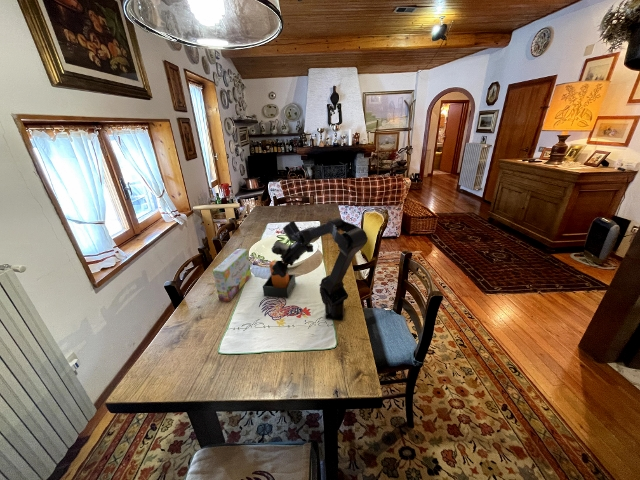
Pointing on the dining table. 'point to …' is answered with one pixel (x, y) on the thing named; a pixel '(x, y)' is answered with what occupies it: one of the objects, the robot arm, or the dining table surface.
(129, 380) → the dining table surface
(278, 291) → the black square tray
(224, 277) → the snack box
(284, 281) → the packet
